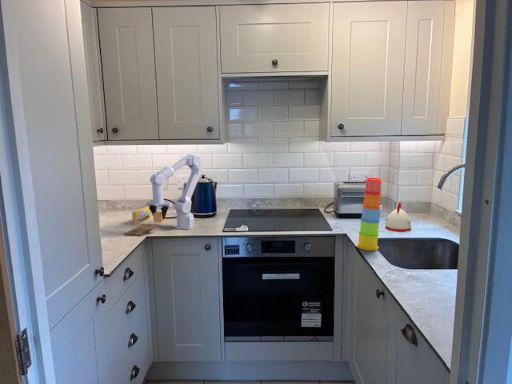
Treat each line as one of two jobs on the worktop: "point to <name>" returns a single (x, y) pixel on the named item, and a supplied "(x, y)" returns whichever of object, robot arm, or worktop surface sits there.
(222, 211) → the worktop surface
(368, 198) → the stacking cups
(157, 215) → the orange cube
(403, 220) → the cream dome
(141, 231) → the walnut board
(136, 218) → the candy box
